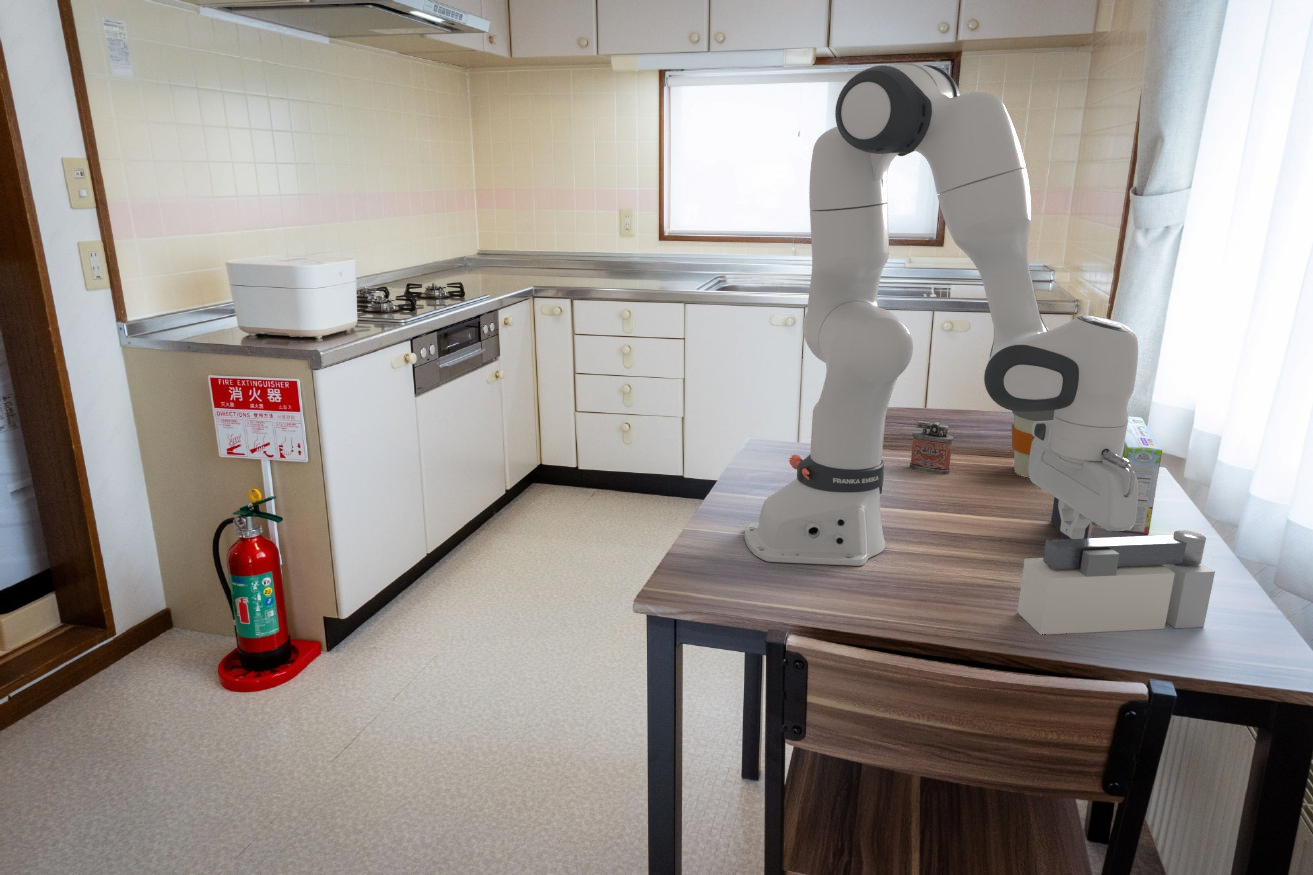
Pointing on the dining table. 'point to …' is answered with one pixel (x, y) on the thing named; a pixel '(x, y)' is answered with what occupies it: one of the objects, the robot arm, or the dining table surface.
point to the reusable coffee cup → (1025, 437)
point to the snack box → (1142, 469)
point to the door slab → (1094, 595)
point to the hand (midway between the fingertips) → (1071, 535)
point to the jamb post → (1189, 595)
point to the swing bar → (1129, 550)
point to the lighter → (931, 448)
